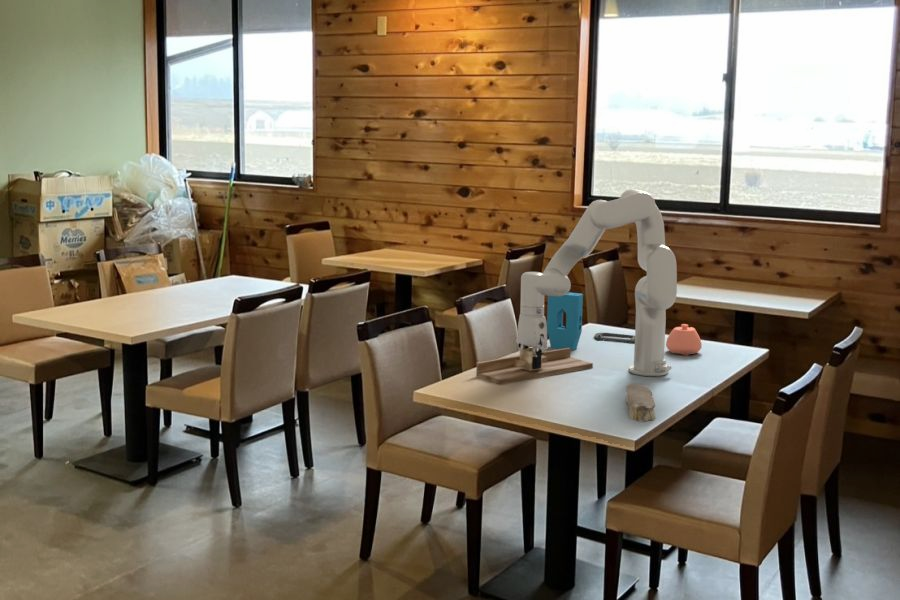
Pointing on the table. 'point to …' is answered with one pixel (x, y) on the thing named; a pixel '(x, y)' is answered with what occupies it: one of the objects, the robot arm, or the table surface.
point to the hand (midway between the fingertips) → (530, 366)
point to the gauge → (528, 359)
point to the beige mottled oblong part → (640, 403)
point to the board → (507, 372)
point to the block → (573, 310)
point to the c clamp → (600, 337)
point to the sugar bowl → (684, 340)
